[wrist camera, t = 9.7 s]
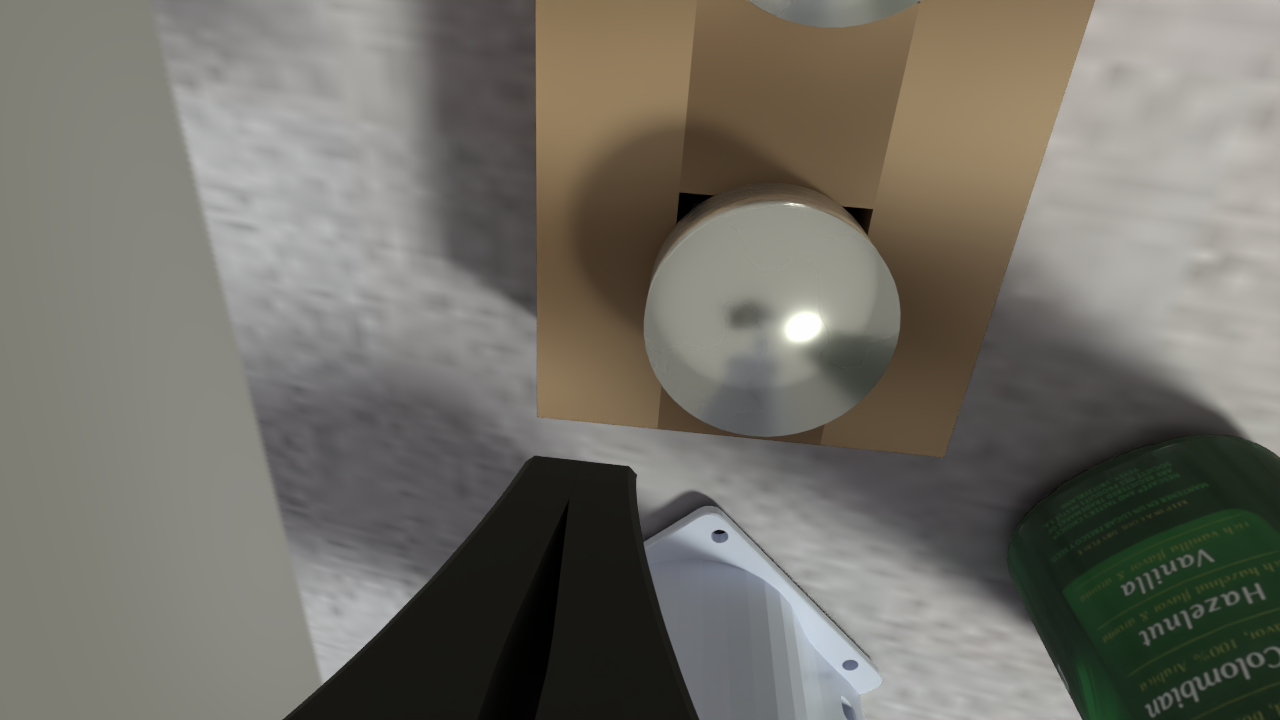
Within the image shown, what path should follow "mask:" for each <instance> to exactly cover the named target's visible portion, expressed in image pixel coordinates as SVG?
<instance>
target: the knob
mask: <svg viewBox="0 0 1280 720" xmlns="http://www.w3.org/2000/svg"><path fill="white" fill-rule="evenodd" d="M899 330H900V304H899V296H898V292H897V289H896V285H895V282H894V279H893V277H892V275H891V273H890V270H889V268H888V266H887V265H886V263H885V262H884V260H883V259H882V257H881V256H880V254H879V253H878V251H877V249H876V248H875V246H874V245H873V243H872V242H871V240H870V239H869V237H868V236H867V234H866V233H865V231H864V230H863V228H862V227H861V225H860V224H859V223H858V222H857V221H856V220H855V219H854V217H853V216H852V215H851V214H850V213H849V212H848V211H846V210H845V209H844V207H843V206H841V205H839V204H838V203H836V202H835V201H833V200H831V199H830V198H828V197H827V196H825V195H823V194H820V193H818V192H816V191H814V190H811V189H808V188H804V187H801V186H797V185H792V184H785V183H756V184H748V185H744V186H739V187H735V188H732V189H729V190H726V191H724V192H721V193H719V194H716V195H705V194H693V196H692V206H691V211H690V212H689V213H688V214H686V215H685V216H684V217H683V218H682V219H681V220H680V221H679V222H678V223H677V225H676V226H675V227H674V228H673V229H672V231H671V232H670V233H669V235H668V236H667V238H666V240H665V241H664V243H663V244H662V246H661V248H660V251H659V253H658V255H657V257H656V260H655V263H654V267H653V270H652V275H651V280H650V286H649V291H648V297H647V302H646V308H645V315H644V340H645V347H646V351H647V355H648V358H649V361H650V364H651V366H652V368H653V371H654V373H655V375H656V377H657V378H658V380H659V382H660V383H661V385H662V386H663V388H664V389H665V390H666V392H667V393H668V394H669V395H670V396H671V398H672V399H673V400H674V401H675V402H677V403H678V404H679V405H680V406H681V407H682V408H683V409H684V410H686V411H687V412H689V413H690V414H691V415H693V416H694V417H696V418H698V419H699V420H701V421H703V422H705V423H707V424H709V425H711V426H714V427H716V428H719V429H721V430H725V431H728V432H732V433H736V434H742V435H748V436H761V437H771V436H784V435H790V434H796V433H800V432H804V431H807V430H811V429H814V428H816V427H819V426H821V425H824V424H826V423H828V422H830V421H832V420H834V419H836V418H838V417H839V416H841V415H843V414H844V413H846V412H847V411H848V410H850V409H851V408H853V407H854V406H855V405H856V404H858V403H859V402H860V401H861V400H862V399H863V398H864V397H865V396H866V395H867V394H868V393H869V392H870V391H871V390H872V389H873V388H874V386H875V385H876V384H877V383H878V381H879V380H880V378H881V377H882V375H883V374H884V372H885V371H886V369H887V367H888V365H889V363H890V361H891V359H892V356H893V353H894V350H895V348H896V345H897V341H898V335H899Z"/></svg>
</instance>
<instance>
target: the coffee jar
mask: <svg viewBox="0 0 1280 720" xmlns="http://www.w3.org/2000/svg"><path fill="white" fill-rule="evenodd" d="M1008 567H1009V573H1010V575H1011V577H1012V580H1013V582H1014V585H1015V587H1016V589H1017V591H1018V593H1019V595H1020V597H1021V599H1022V601H1023V603H1024V605H1025V608H1026V610H1027V612H1028V614H1029V616H1030V618H1031V620H1032V622H1033V624H1034V626H1035V628H1036V630H1037V632H1038V634H1039V636H1040V638H1041V640H1042V642H1043V644H1044V646H1045V648H1046V650H1047V652H1048V654H1049V656H1050V658H1051V660H1052V662H1053V664H1054V666H1055V667H1056V669H1057V671H1058V673H1059V675H1060V677H1061V679H1062V681H1063V683H1064V685H1065V687H1066V689H1067V691H1068V693H1069V695H1070V697H1071V699H1072V700H1073V702H1074V704H1075V706H1076V708H1077V710H1078V712H1079V714H1080V716H1081V718H1082V720H1280V457H1278V456H1277V455H1276V454H1275V453H1273V452H1271V451H1270V450H1268V449H1267V448H1265V447H1263V446H1261V445H1259V444H1257V443H1254V442H1251V441H1248V440H1245V439H1241V438H1237V437H1233V436H1221V435H1195V436H1187V437H1180V438H1176V439H1173V440H1169V441H1165V442H1161V443H1158V444H1155V445H1151V446H1146V447H1142V448H1138V449H1135V450H1133V451H1130V452H1128V453H1125V454H1123V455H1120V456H1118V457H1115V458H1112V459H1110V460H1108V461H1105V462H1103V463H1100V464H1097V465H1095V466H1094V467H1092V468H1090V469H1089V470H1087V471H1086V472H1084V473H1082V474H1080V475H1078V476H1076V477H1074V478H1072V479H1071V480H1069V481H1067V482H1065V483H1064V484H1062V485H1061V486H1060V487H1058V488H1057V489H1056V490H1055V491H1054V492H1053V493H1052V494H1050V495H1049V496H1048V497H1046V498H1045V499H1043V500H1042V501H1041V502H1039V503H1038V504H1037V505H1036V506H1035V507H1034V508H1032V509H1031V510H1030V511H1029V512H1028V514H1027V515H1026V516H1025V517H1024V518H1023V520H1022V521H1021V522H1020V524H1019V525H1018V527H1017V528H1016V529H1015V531H1014V533H1013V534H1012V537H1011V541H1010V544H1009V548H1008Z"/></svg>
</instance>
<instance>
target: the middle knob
mask: <svg viewBox="0 0 1280 720" xmlns="http://www.w3.org/2000/svg"><path fill="white" fill-rule="evenodd" d="M746 1H747V2H749V3H750V4H752V5H753V6H755V7H756V8H759V9H761V10H763V11H765V12H767V13H769V14H771V15H774V16H776V17H779V18H782V19H785V20H788V21H791V22H795V23H798V24H802V25H808V26H815V27H849V26H856V25H863V24H866V23H870V22H874V21H877V20H881V19H884V18H887V17H889V16H891V15H894V14H896V13H898V12H901V11H903V10H905V9H907V8H909V7H910V6H912V5H914V4H916V3H917V2H919V1H921V0H746Z"/></svg>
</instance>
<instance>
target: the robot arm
mask: <svg viewBox="0 0 1280 720" xmlns="http://www.w3.org/2000/svg"><path fill="white" fill-rule="evenodd" d="M636 478H637V474H636V473H635V472H634V471H633V470H632V469H631V468H630V467H629V466H621V465H612V464H604V463H595V462H586V461H577V460H568V459H559V458H550V457H541V456H534V457H532V458H531V459H529V460H528V461H526V462H525V464H524V465H523V467H522V468H521V470H520V471H519V473H518V474H517V476H516V477H515V478H514V480H513V481H512V482H511V484H510V485H509V486H508V488H507V489H506V490H505V492H504V493H503V494H502V496H501V497H500V498H499V500H498V501H497V502H496V503H495V505H494V506H493V507H492V508H491V510H490V511H489V512H488V513H487V515H486V516H485V517H484V518H483V520H482V521H481V522H480V523H479V524H478V526H477V527H476V528H475V529H474V531H473V532H472V533H471V534H470V535H469V536H468V537H467V539H466V540H465V541H464V542H463V543H462V544H461V545H460V547H459V548H458V549H457V550H456V551H455V552H454V553H453V555H452V556H451V557H450V558H449V559H448V560H447V561H446V563H445V564H444V565H443V566H442V567H441V568H440V569H439V571H438V572H437V573H436V574H435V575H434V576H433V577H432V578H431V579H430V580H429V581H428V583H427V584H426V585H425V586H424V587H423V588H422V589H421V590H420V591H419V592H418V593H417V594H416V595H415V596H414V597H413V598H412V599H411V600H410V601H409V602H408V603H407V604H406V605H405V606H404V607H403V608H402V609H401V610H400V611H399V612H398V613H397V614H396V615H395V616H394V617H393V618H392V619H391V620H390V622H389V623H388V624H387V625H386V626H385V627H384V628H383V629H382V630H381V631H380V632H379V633H378V634H377V635H376V636H375V637H374V638H373V639H372V640H370V641H369V642H368V643H367V644H366V645H365V646H364V647H363V648H362V649H361V650H360V651H359V652H358V653H357V654H356V655H355V656H354V657H353V658H352V659H350V660H349V661H348V662H347V663H346V664H345V665H344V666H343V667H342V668H341V669H340V670H339V671H337V672H336V673H335V674H334V675H333V676H332V677H331V678H330V679H329V680H327V681H326V682H325V683H324V684H323V685H322V686H321V687H320V688H318V689H317V690H316V691H315V692H314V693H313V694H312V695H311V696H309V697H308V698H307V699H306V700H305V701H304V702H303V703H302V704H300V705H299V706H298V707H297V708H296V709H295V710H293V711H292V712H291V713H290V714H289V715H288V716H286V717H285V718H284V719H283V720H865V718H864V713H863V709H862V704H861V700H860V695H862V694H864V693H866V692H869V691H871V690H873V689H875V688H877V687H878V686H879V685H880V684H881V682H882V677H881V674H880V670H879V668H878V667H877V666H876V665H875V664H874V663H873V662H872V661H871V660H870V659H869V658H868V657H867V656H866V655H865V654H864V653H863V652H862V651H861V650H860V649H859V648H858V647H857V646H856V645H855V644H854V643H853V642H852V641H851V640H850V639H849V638H848V637H847V636H846V635H845V634H844V633H843V632H842V631H841V630H840V629H839V628H838V627H837V626H836V625H835V624H834V623H833V622H832V621H831V620H830V619H829V618H828V617H827V616H826V615H825V614H824V613H823V612H822V611H821V610H820V609H819V608H818V607H817V606H816V605H815V604H814V603H813V602H812V601H811V600H810V599H809V598H808V597H807V596H806V595H805V594H804V593H803V592H802V591H801V590H800V589H799V588H798V587H797V586H796V585H795V584H794V583H793V581H792V580H791V579H790V578H789V577H788V576H787V575H786V574H785V573H784V572H783V571H782V570H781V569H780V568H779V567H778V566H777V565H776V564H775V563H774V562H773V561H772V560H771V559H770V558H769V557H768V556H767V555H766V554H765V553H764V552H763V551H762V550H761V549H760V548H759V547H758V546H757V545H756V544H755V543H754V542H753V541H752V540H751V539H750V538H749V537H748V536H747V535H746V534H745V533H744V532H743V531H742V530H741V529H740V528H739V527H738V526H737V525H736V524H735V523H734V522H733V521H732V520H731V519H730V518H729V517H728V516H727V515H726V514H725V513H724V512H723V511H722V510H720V509H719V508H717V507H714V506H704V507H701V508H699V509H697V510H695V511H694V512H692V513H690V514H689V515H687V516H686V517H684V518H682V519H681V520H679V521H677V522H676V523H674V524H673V525H671V526H669V527H668V528H666V529H664V530H663V531H661V532H660V533H658V534H656V535H655V536H653V537H651V538H650V539H648V540H646V541H645V542H643V538H642V532H641V527H640V521H639V514H638V507H637V495H636ZM716 530H723V531H725V533H723V534H715V533H714V531H716ZM848 660H849V661H848Z"/></svg>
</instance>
